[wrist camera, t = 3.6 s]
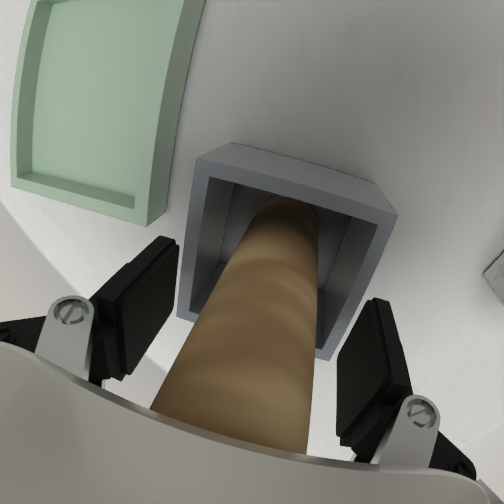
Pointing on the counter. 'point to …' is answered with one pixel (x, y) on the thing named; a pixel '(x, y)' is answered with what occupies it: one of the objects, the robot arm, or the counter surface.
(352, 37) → the counter surface
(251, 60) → the counter surface
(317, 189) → the open box
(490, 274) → the skincare box
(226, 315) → the dowel
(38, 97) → the tray
